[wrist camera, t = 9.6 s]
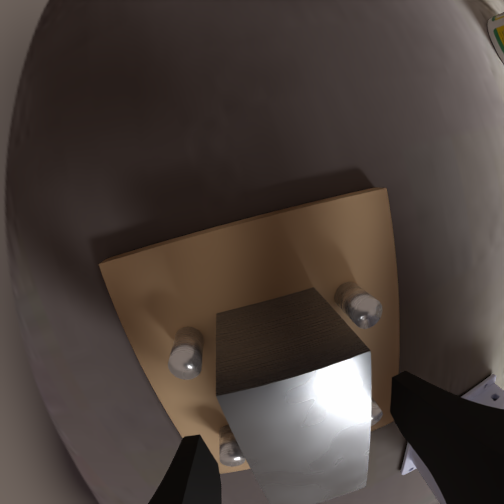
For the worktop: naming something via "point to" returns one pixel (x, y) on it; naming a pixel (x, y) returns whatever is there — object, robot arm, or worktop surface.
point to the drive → (296, 396)
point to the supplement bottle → (497, 33)
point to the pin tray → (257, 299)
